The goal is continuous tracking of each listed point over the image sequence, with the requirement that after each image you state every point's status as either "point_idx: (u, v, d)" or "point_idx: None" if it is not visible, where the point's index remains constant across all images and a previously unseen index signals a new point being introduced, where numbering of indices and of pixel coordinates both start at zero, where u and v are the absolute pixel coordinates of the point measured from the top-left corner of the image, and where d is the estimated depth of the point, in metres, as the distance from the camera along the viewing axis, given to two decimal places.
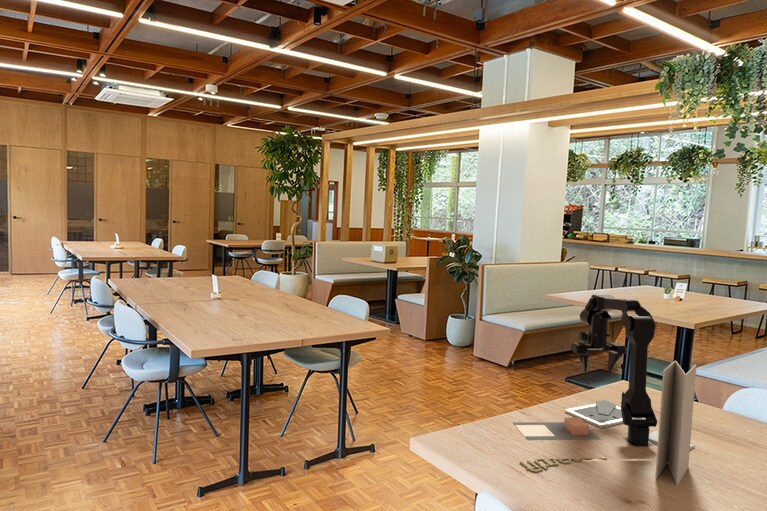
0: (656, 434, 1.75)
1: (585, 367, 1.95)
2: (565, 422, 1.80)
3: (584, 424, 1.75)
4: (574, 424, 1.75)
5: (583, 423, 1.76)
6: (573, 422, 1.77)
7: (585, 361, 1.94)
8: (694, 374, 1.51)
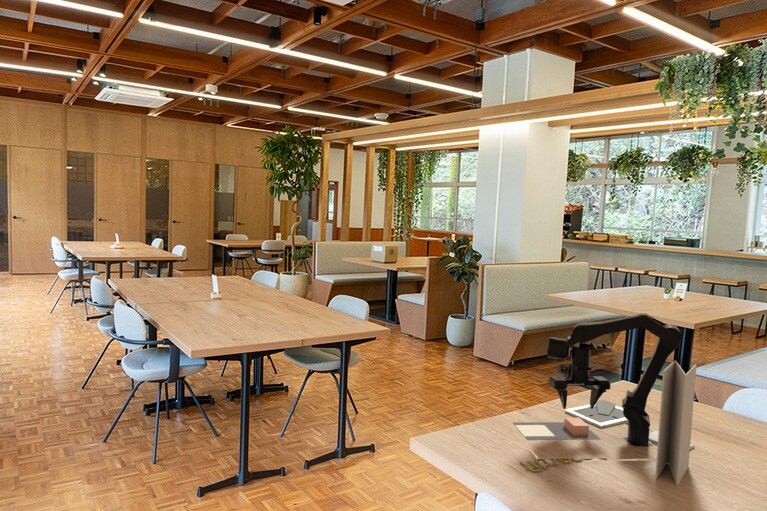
0: (656, 434, 1.76)
1: (564, 404, 1.75)
2: (565, 422, 1.80)
3: (584, 424, 1.75)
4: (574, 424, 1.75)
5: (583, 423, 1.76)
6: (573, 422, 1.77)
7: (564, 398, 1.74)
8: (694, 374, 1.51)
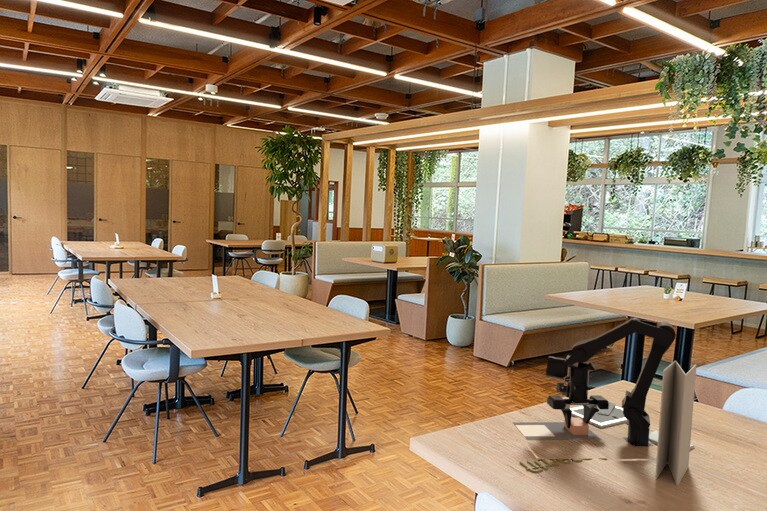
0: (656, 434, 1.76)
1: (569, 423, 1.76)
2: (565, 422, 1.80)
3: (584, 424, 1.75)
4: (574, 424, 1.75)
5: (583, 423, 1.76)
6: (573, 422, 1.77)
7: (568, 417, 1.75)
8: (694, 374, 1.51)
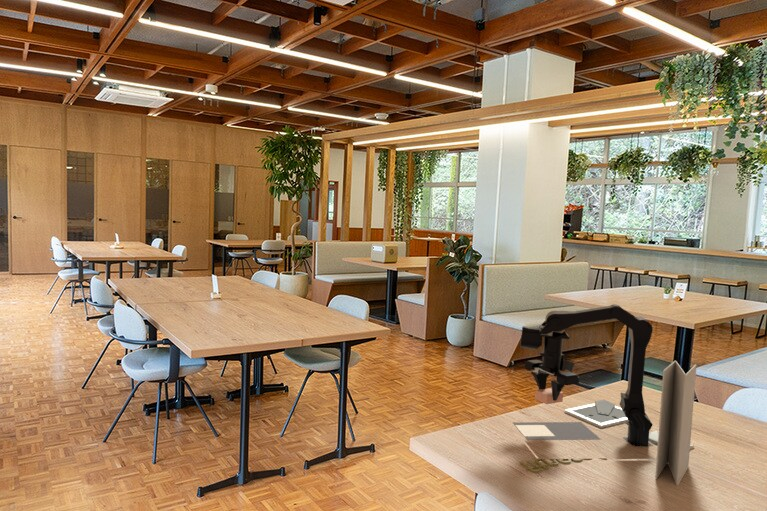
0: (656, 434, 1.76)
1: (539, 389, 1.78)
2: None
3: (547, 393, 1.74)
4: (540, 390, 1.76)
5: (549, 393, 1.74)
6: (545, 390, 1.77)
7: (537, 382, 1.78)
8: (694, 374, 1.51)
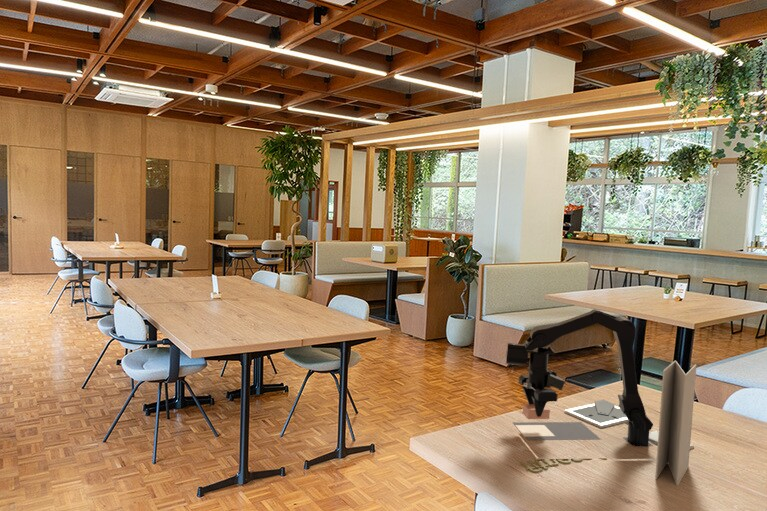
0: (656, 434, 1.76)
1: None
2: None
3: (530, 408, 1.74)
4: (527, 405, 1.77)
5: (533, 408, 1.74)
6: (533, 405, 1.77)
7: (526, 396, 1.79)
8: (694, 374, 1.51)
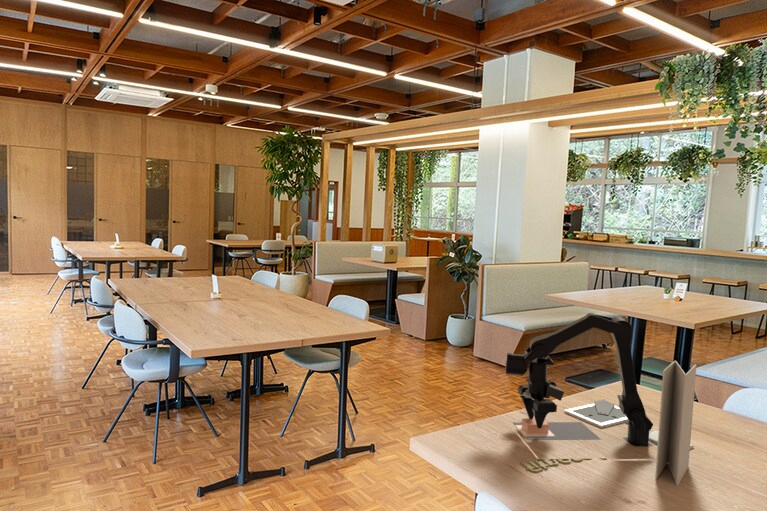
0: (656, 433, 1.76)
1: (527, 413, 1.80)
2: None
3: (529, 423, 1.74)
4: (527, 419, 1.78)
5: (532, 423, 1.74)
6: (532, 420, 1.77)
7: (524, 405, 1.80)
8: (694, 374, 1.51)
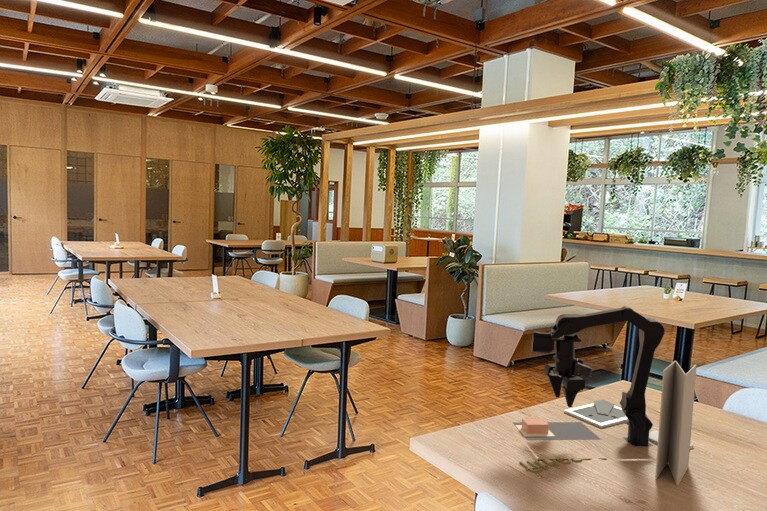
0: (656, 433, 1.76)
1: (554, 391, 1.79)
2: None
3: (529, 423, 1.74)
4: (527, 419, 1.78)
5: (532, 423, 1.74)
6: (532, 420, 1.77)
7: (550, 383, 1.79)
8: (694, 374, 1.51)
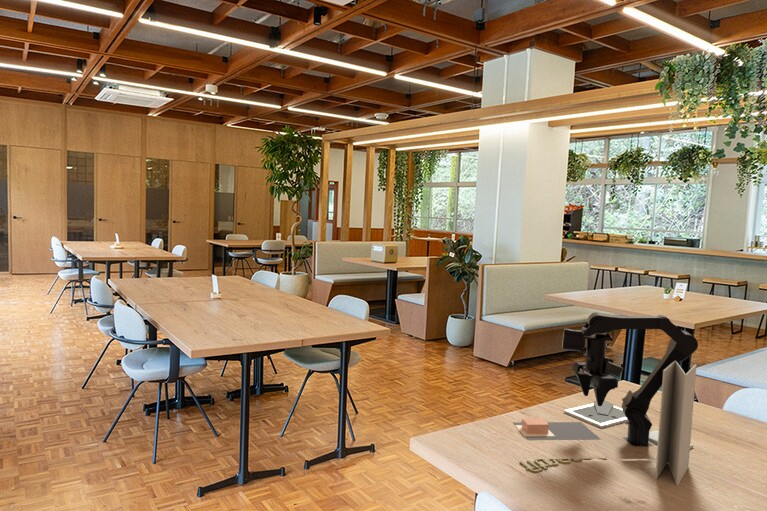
0: (656, 433, 1.76)
1: (582, 390, 1.78)
2: None
3: (529, 423, 1.74)
4: (527, 419, 1.78)
5: (532, 423, 1.74)
6: (532, 420, 1.77)
7: (579, 382, 1.78)
8: (694, 374, 1.51)
